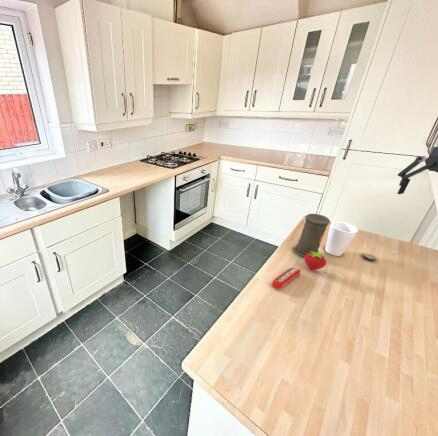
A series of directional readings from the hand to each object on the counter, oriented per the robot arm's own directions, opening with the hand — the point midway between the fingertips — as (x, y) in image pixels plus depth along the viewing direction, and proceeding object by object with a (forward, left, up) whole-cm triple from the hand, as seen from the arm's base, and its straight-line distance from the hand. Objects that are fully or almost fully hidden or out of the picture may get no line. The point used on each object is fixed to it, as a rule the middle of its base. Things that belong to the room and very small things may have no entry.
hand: (419, 199), depth 99 cm
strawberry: (0, +48, -25) cm, 54 cm away
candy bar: (-1, +62, -25) cm, 67 cm away
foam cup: (+7, +27, -25) cm, 37 cm away
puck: (-2, +18, -25) cm, 30 cm away
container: (+10, +40, -25) cm, 48 cm away
